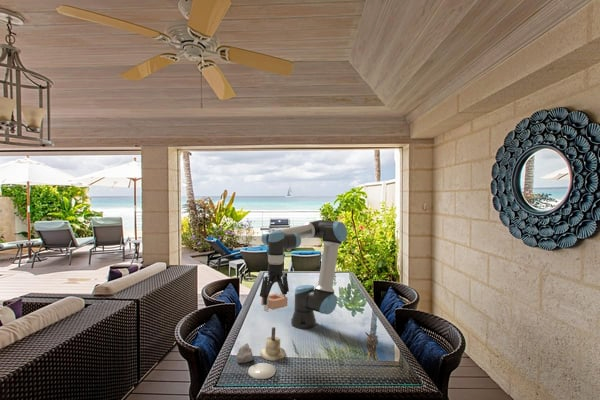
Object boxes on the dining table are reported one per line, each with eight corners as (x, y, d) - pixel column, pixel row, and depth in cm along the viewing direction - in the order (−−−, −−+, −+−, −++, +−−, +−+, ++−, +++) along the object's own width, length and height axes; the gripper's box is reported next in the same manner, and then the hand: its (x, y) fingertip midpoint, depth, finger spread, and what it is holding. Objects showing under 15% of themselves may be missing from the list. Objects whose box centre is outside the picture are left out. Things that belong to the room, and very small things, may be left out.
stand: (274, 346, 164) (275, 321, 164) (289, 355, 155) (290, 328, 155) (255, 353, 156) (256, 327, 156) (270, 363, 147) (271, 335, 147)
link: (275, 301, 162) (276, 293, 162) (287, 305, 155) (287, 297, 155) (261, 304, 156) (261, 296, 156) (272, 309, 149) (273, 301, 149)
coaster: (264, 361, 149) (264, 360, 149) (281, 372, 140) (281, 371, 140) (242, 370, 140) (242, 369, 140) (258, 382, 132) (258, 381, 132)
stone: (236, 365, 145) (236, 352, 145) (236, 354, 155) (236, 342, 155) (253, 363, 146) (254, 351, 146) (252, 353, 156) (253, 341, 156)
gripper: (287, 259, 165) (286, 302, 166) (252, 264, 151) (251, 311, 151) (297, 261, 160) (295, 306, 160) (262, 267, 145) (260, 316, 145)
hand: (274, 308), depth 155 cm, fingers closed on link, 9 cm apart
